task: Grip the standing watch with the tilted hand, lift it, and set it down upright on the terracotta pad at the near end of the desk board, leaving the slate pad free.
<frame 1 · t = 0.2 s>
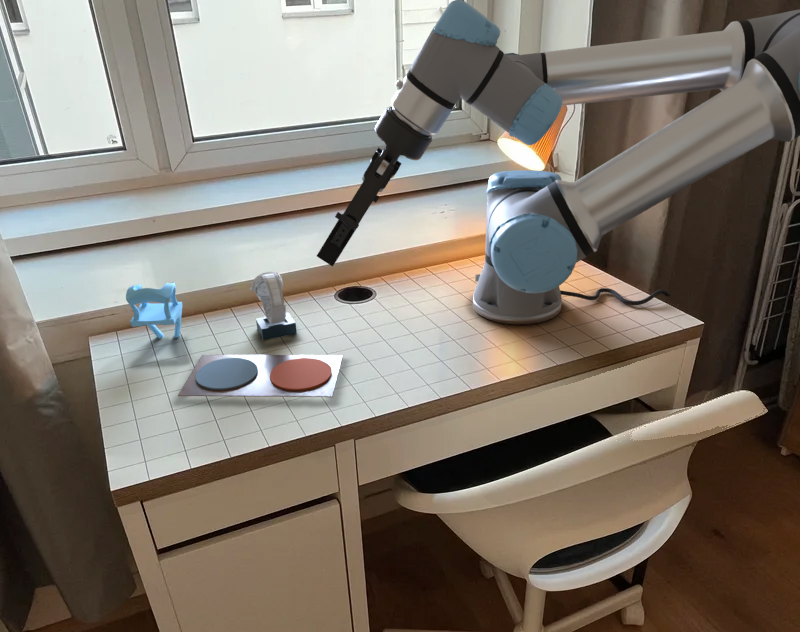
hand: (334, 245, 106), 16 cm above the table, tool tilted 35°, fingers open, 13 cm apart
terracotta pad: (301, 374, 103), resting on desk board
chair: (166, 353, 113), on the table
watch: (277, 338, 116), on the table
slate pad: (227, 374, 104), resting on desk board
desk board: (264, 381, 104), on the table
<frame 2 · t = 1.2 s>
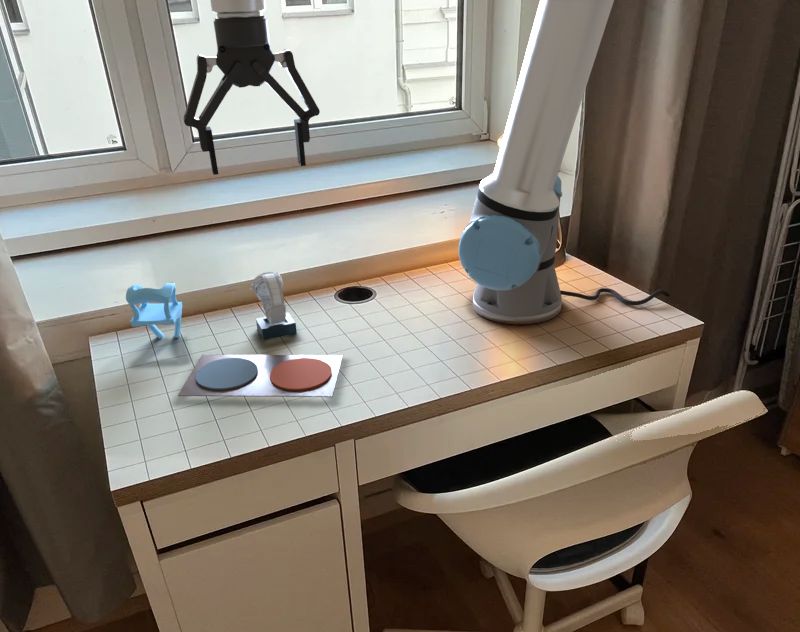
hand: (259, 168, 111), 25 cm above the table, tool pointing down, fingers open, 13 cm apart
nothing on the table moved.
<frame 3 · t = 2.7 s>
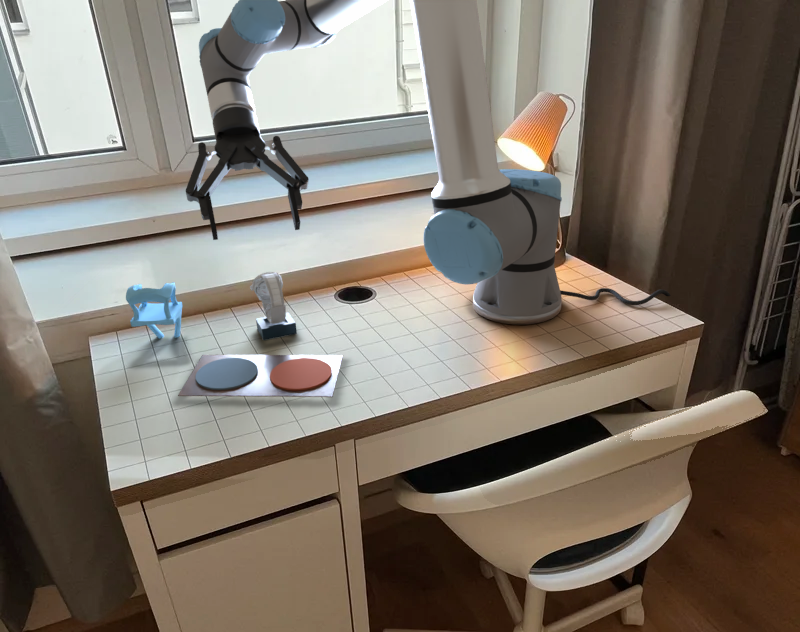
hand: (257, 231, 117), 15 cm above the table, tool tilted 45°, fingers open, 13 cm apart
nothing on the table moved.
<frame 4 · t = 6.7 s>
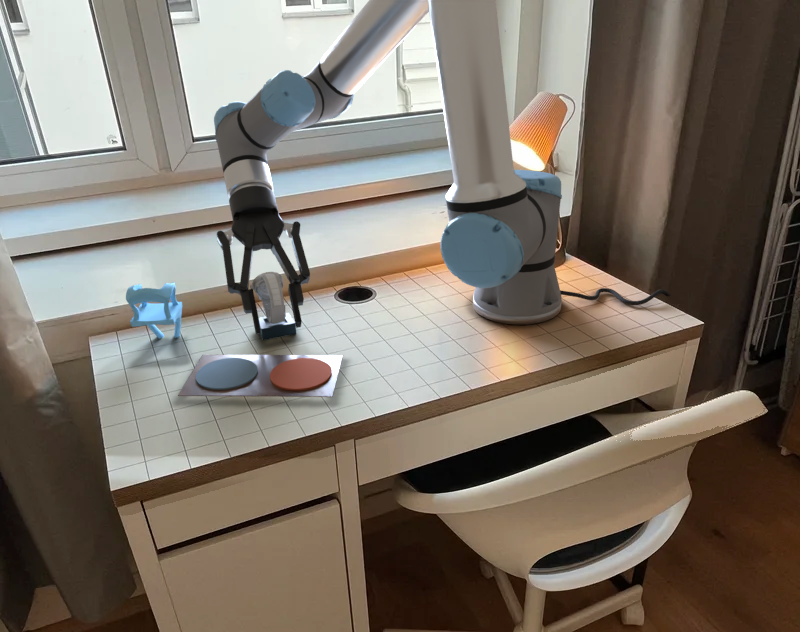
hand: (278, 327, 111), 4 cm above the table, tool tilted 45°, fingers closed on watch, 6 cm apart
watch: (277, 338, 116), on the table, touching gripper
everything else where it was.
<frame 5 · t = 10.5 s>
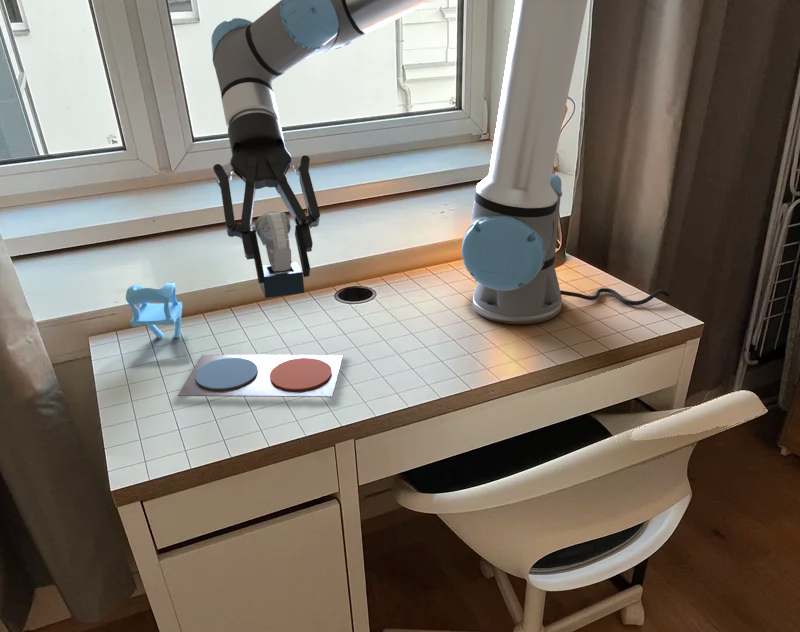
hand: (284, 275, 96), 16 cm above the table, tool tilted 45°, fingers closed on watch, 5 cm apart
watch: (281, 290, 101), point 12 cm above the table, touching gripper
everything else where it was.
when the fingers open (5 cm above the table, at t = 14.5 s): watch stays where it is, resting on terracotta pad.
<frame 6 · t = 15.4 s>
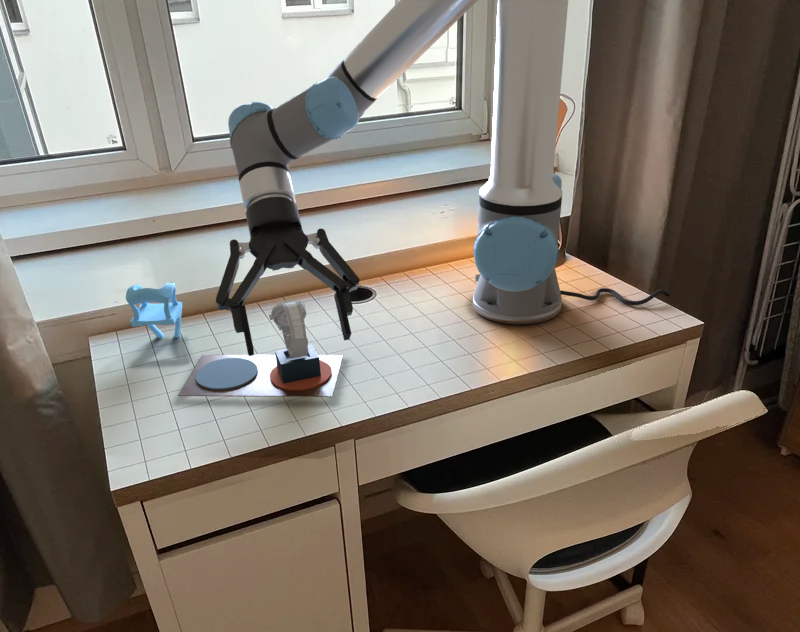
hand: (300, 345, 98), 7 cm above the table, tool tilted 45°, fingers open, 13 cm apart
watch: (298, 373, 103), point 1 cm above the table, touching terracotta pad
everything else where it was.
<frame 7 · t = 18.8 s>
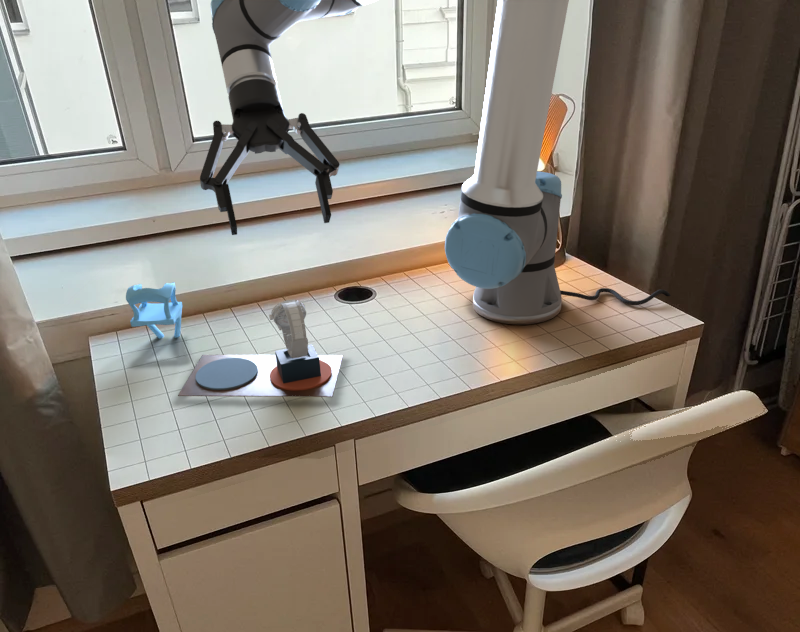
hand: (281, 225, 102), 20 cm above the table, tool tilted 40°, fingers open, 13 cm apart
nothing on the table moved.
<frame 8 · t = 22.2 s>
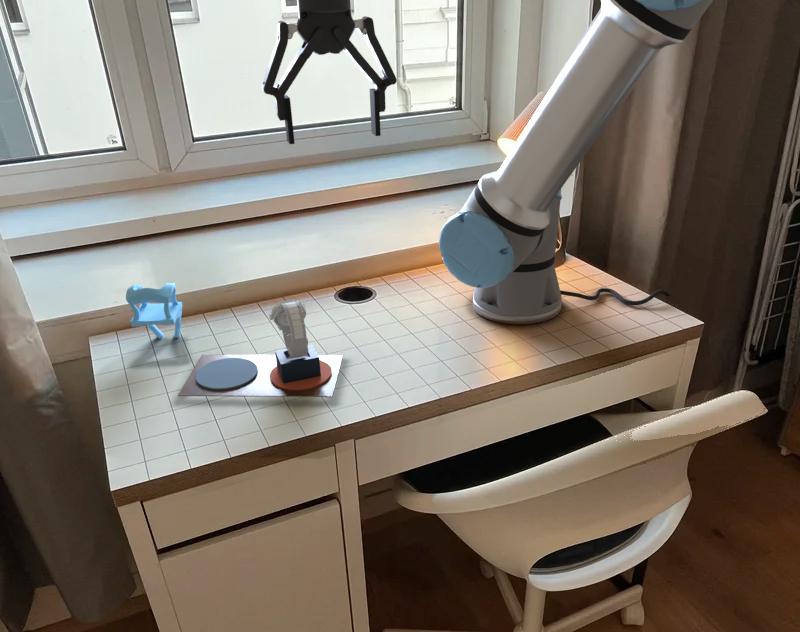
hand: (334, 138, 110), 29 cm above the table, tool pointing down, fingers open, 13 cm apart
nothing on the table moved.
at the end: watch 0.3 cm off-centre on the terracotta pad, point 0.1 cm above the terracotta pad's base; watch tilted 0°; the gripper is holding nothing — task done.
